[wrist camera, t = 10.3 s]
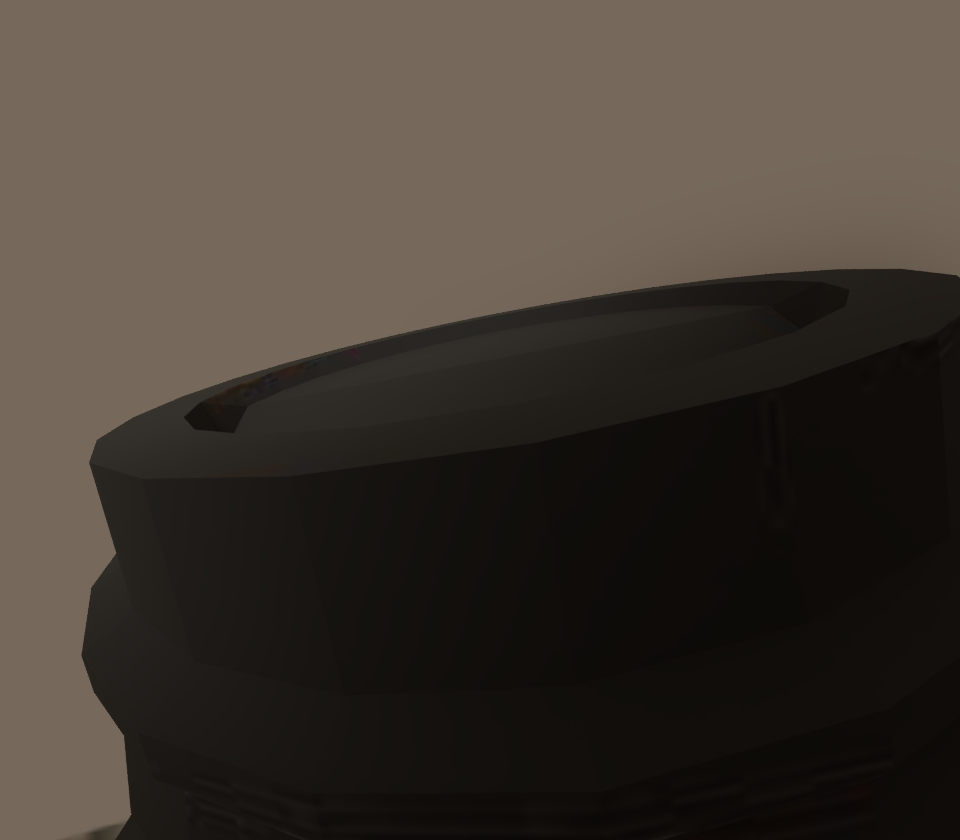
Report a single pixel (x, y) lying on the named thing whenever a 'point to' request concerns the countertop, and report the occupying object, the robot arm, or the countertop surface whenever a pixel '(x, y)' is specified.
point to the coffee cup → (554, 576)
